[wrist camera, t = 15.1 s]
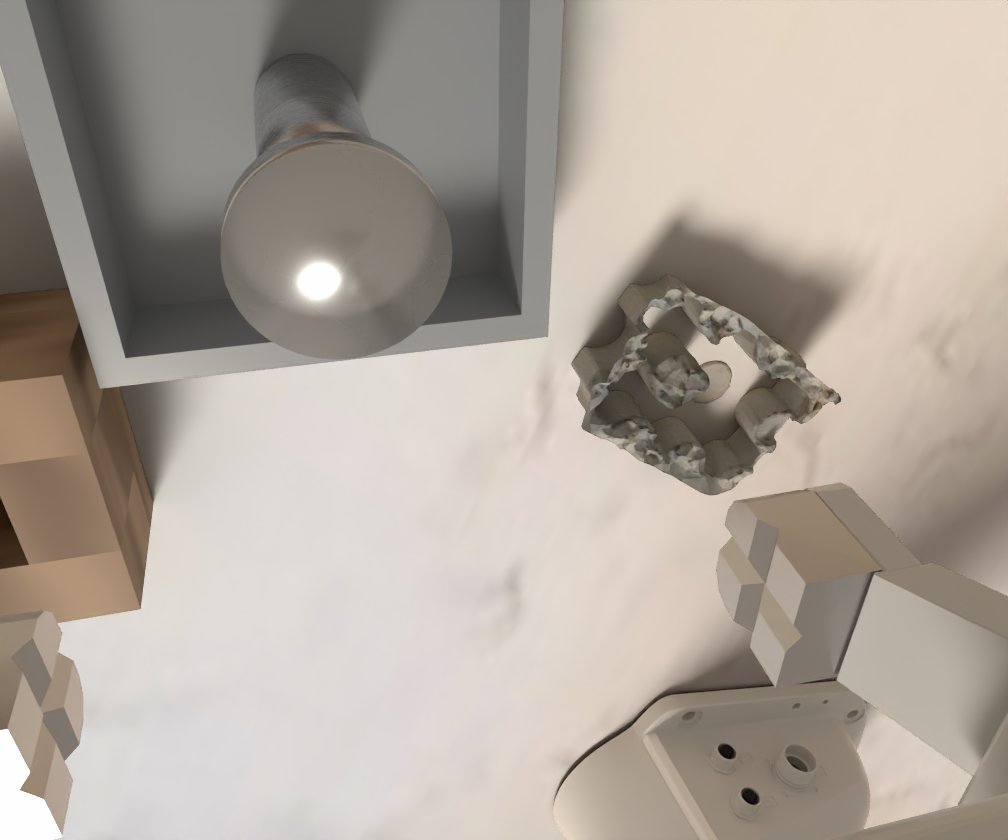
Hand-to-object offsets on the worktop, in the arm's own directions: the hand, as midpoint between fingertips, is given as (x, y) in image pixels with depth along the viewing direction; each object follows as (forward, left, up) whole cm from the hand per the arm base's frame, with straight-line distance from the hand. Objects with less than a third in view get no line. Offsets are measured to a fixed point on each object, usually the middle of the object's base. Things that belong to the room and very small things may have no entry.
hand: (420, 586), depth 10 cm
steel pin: (0, 0, -22) cm, 22 cm away
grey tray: (0, 0, -23) cm, 23 cm away
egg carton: (-15, +13, -23) cm, 30 cm away
